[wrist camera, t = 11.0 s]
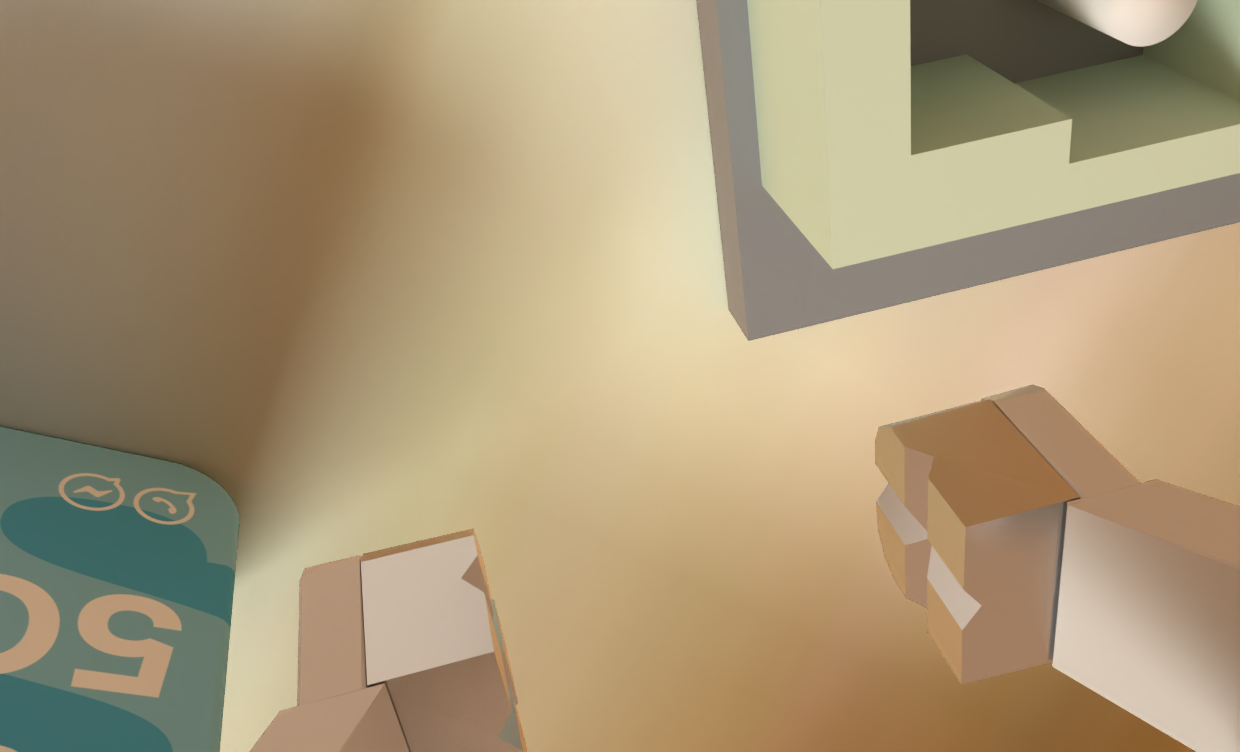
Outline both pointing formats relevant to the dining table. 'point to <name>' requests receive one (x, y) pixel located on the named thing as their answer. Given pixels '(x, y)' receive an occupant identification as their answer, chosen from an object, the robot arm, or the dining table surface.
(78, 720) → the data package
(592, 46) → the dining table surface
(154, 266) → the dining table surface
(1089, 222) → the boss board
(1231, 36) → the cream rectangular bar
